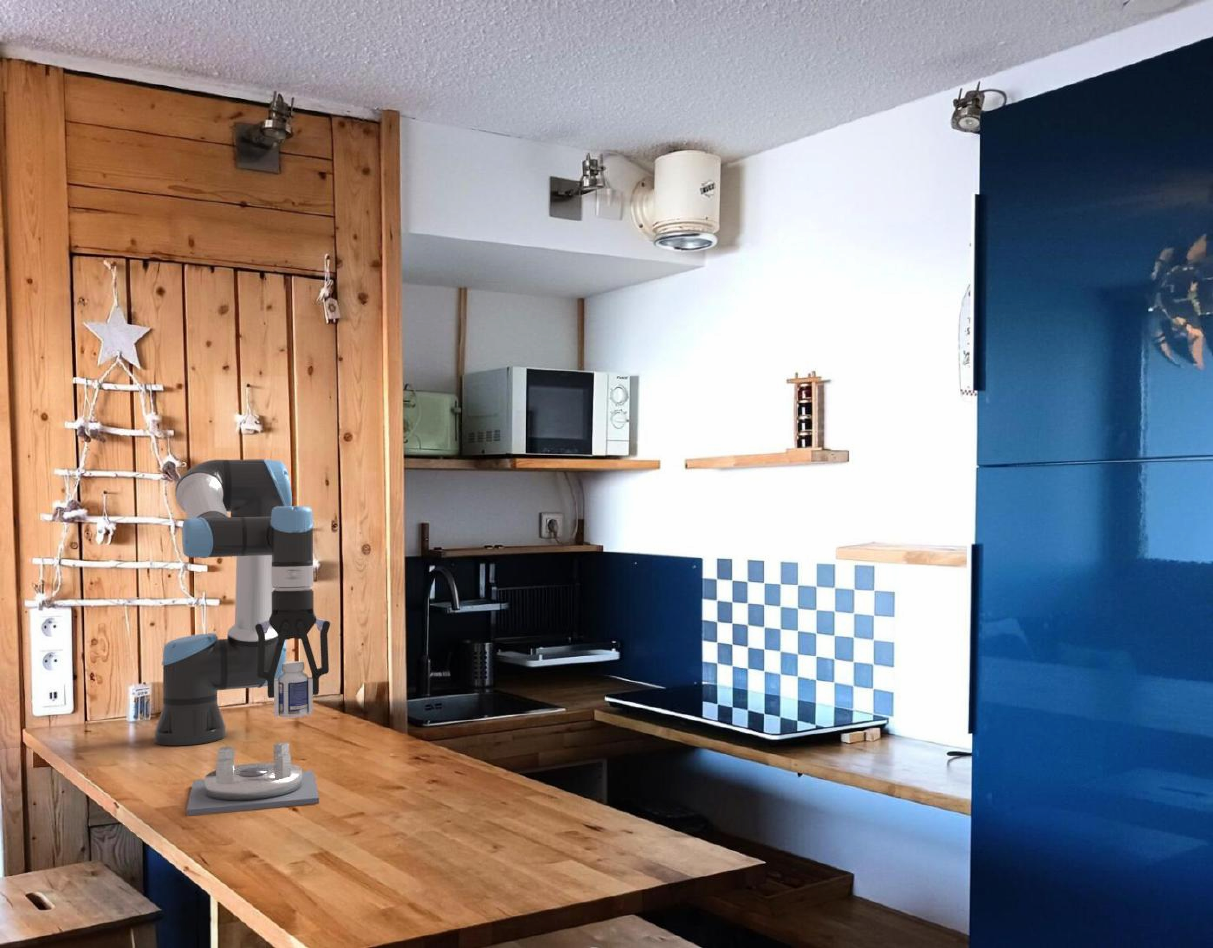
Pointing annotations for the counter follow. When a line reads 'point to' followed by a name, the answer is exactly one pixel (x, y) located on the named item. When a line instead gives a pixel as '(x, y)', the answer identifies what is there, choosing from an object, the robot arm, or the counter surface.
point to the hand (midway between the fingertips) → (293, 713)
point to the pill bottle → (293, 690)
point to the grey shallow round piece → (253, 776)
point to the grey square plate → (208, 805)
